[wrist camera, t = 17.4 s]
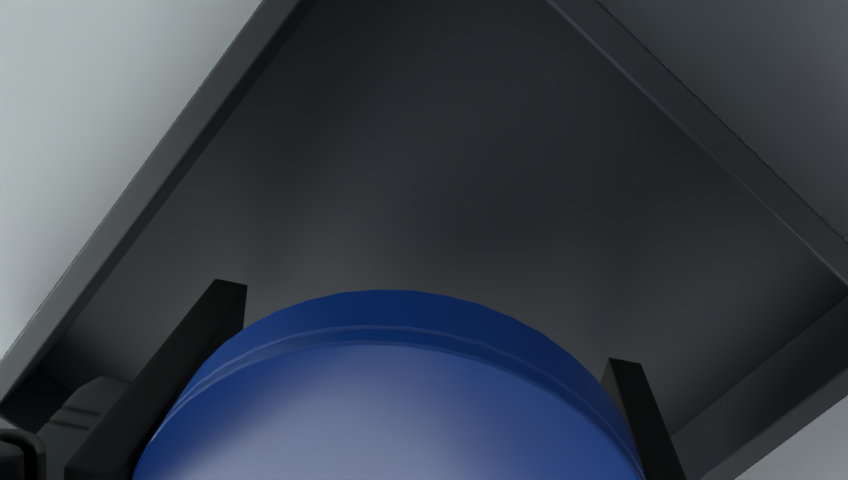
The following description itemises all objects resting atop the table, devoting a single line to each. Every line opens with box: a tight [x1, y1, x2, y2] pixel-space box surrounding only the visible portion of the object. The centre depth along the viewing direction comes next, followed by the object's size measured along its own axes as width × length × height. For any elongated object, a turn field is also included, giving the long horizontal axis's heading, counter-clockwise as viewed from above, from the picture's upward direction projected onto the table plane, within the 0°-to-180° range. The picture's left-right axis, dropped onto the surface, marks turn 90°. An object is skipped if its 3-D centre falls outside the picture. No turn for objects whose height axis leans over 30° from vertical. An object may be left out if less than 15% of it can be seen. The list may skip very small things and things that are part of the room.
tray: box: [0, 0, 848, 480], centre depth 18 cm, size 17×15×3 cm
